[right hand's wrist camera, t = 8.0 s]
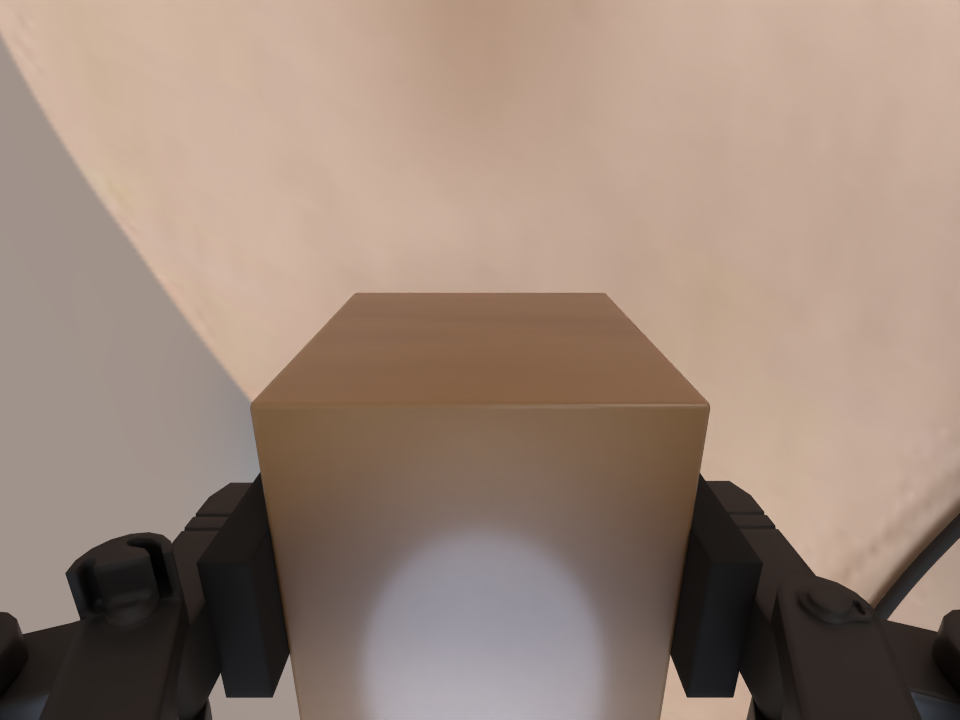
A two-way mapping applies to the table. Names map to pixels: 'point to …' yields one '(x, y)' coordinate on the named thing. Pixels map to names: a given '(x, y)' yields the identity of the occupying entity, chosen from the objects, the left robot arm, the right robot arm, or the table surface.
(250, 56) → the table surface
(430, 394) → the brown cube
